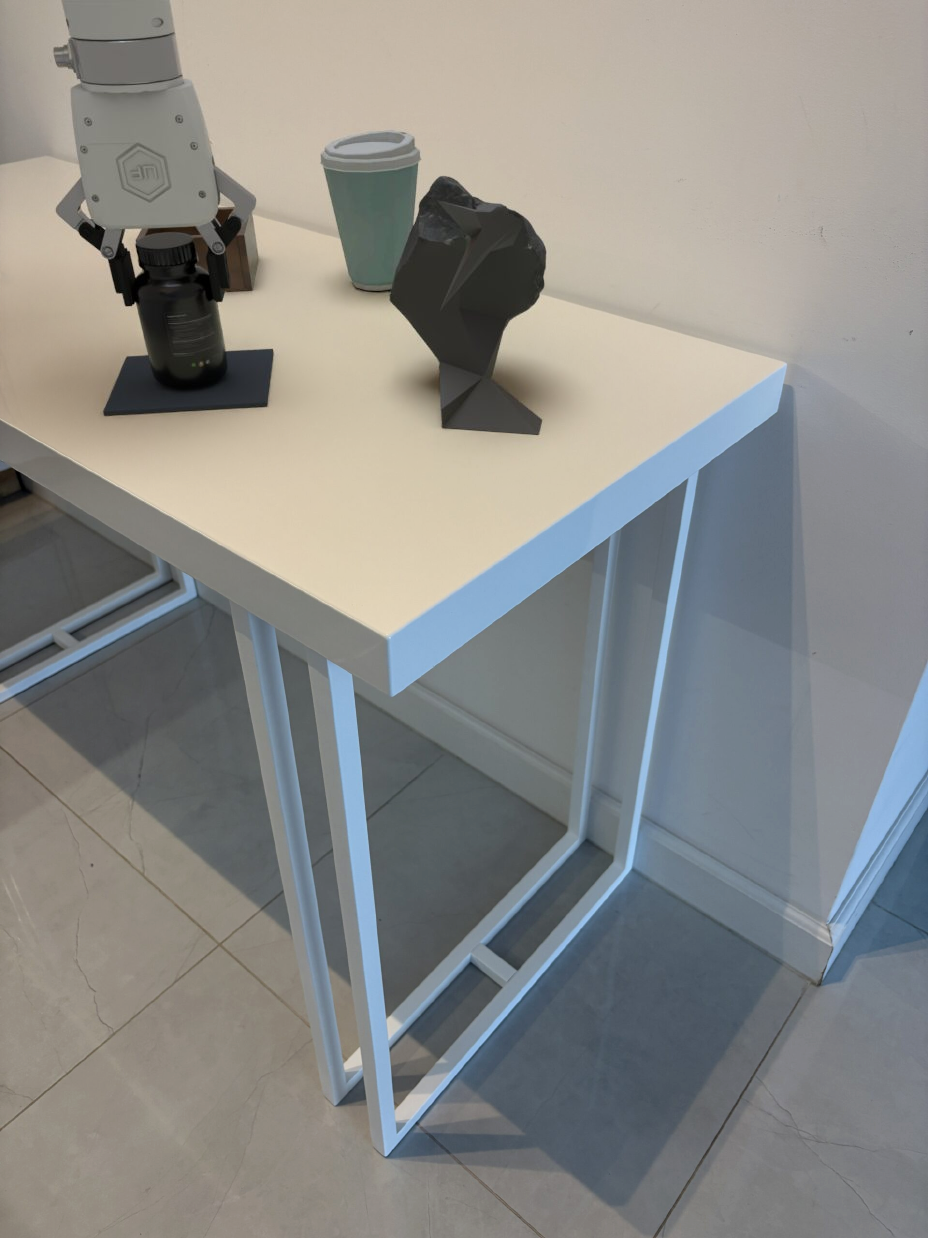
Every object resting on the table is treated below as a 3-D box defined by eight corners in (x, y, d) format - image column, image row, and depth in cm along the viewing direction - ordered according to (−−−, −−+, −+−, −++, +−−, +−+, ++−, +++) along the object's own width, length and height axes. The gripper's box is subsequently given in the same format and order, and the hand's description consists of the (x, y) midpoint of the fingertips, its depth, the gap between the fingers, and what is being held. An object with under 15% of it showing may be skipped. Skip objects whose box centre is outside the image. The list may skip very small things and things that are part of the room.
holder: (147, 294, 104) (135, 239, 101) (162, 261, 113) (151, 209, 110) (252, 290, 105) (244, 234, 102) (258, 257, 114) (251, 205, 111)
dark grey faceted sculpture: (556, 360, 89) (567, 154, 78) (538, 434, 77) (549, 204, 66) (410, 351, 91) (400, 149, 80) (371, 422, 79) (354, 196, 68)
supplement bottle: (142, 371, 86) (110, 236, 79) (211, 353, 89) (187, 222, 82) (169, 397, 82) (139, 257, 74) (241, 378, 85) (219, 242, 78)
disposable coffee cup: (358, 304, 101) (346, 153, 92) (315, 277, 108) (300, 134, 99) (442, 285, 106) (438, 139, 96) (395, 260, 113) (388, 122, 103)
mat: (103, 415, 81) (102, 411, 81) (127, 360, 90) (126, 355, 90) (267, 406, 82) (266, 401, 82) (273, 352, 91) (273, 348, 91)
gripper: (-5, 74, 67) (64, 319, 78) (242, 67, 68) (274, 309, 79) (22, 58, 72) (83, 288, 84) (249, 52, 74) (278, 279, 85)
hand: (176, 297), depth 81 cm, fingers closed on supplement bottle, 6 cm apart
